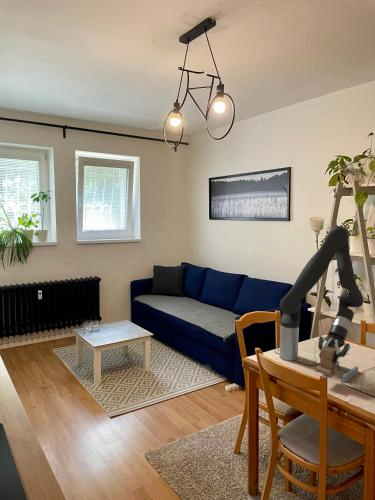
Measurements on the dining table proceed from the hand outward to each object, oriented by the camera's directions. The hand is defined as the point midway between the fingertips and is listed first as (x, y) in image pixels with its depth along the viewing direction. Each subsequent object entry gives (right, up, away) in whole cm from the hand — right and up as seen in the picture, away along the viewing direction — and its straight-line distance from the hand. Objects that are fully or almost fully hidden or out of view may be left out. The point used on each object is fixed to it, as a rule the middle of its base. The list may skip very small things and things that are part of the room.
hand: (327, 360), depth 162 cm
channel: (+11, -10, +12) cm, 19 cm away
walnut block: (0, -4, +1) cm, 5 cm away
